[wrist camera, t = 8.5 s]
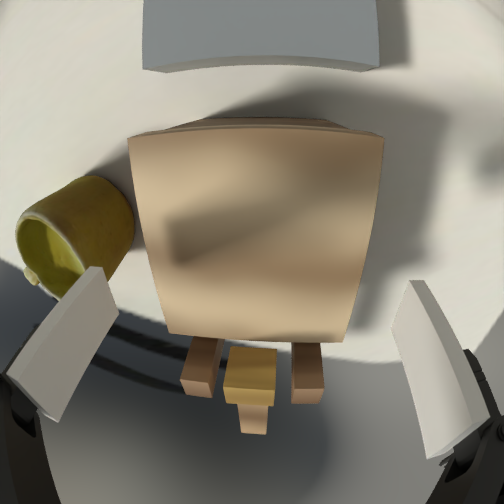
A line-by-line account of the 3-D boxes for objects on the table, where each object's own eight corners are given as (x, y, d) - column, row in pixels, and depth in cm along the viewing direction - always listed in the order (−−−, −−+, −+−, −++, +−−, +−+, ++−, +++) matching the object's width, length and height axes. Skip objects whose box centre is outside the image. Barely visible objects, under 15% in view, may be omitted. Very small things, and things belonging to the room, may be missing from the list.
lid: (154, 129, 13) (127, 138, 11) (363, 129, 12) (384, 137, 10) (181, 303, 19) (169, 332, 17) (336, 310, 18) (342, 342, 16)
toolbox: (200, 119, 18) (116, 146, 8) (326, 119, 17) (383, 145, 8) (215, 289, 26) (184, 393, 16) (310, 293, 25) (320, 403, 16)
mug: (109, 137, 17) (24, 236, 11) (166, 229, 25) (121, 326, 19) (41, 173, 21) (-15, 246, 15) (90, 237, 29) (51, 308, 23)
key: (230, 346, 16) (223, 386, 14) (276, 348, 16) (274, 390, 13) (240, 419, 22) (236, 447, 20) (270, 421, 22) (268, 449, 19)
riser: (168, -21, 12) (147, -39, 8) (354, -26, 10) (368, -46, 7) (166, 73, 16) (142, 69, 13) (360, 72, 15) (379, 66, 12)
